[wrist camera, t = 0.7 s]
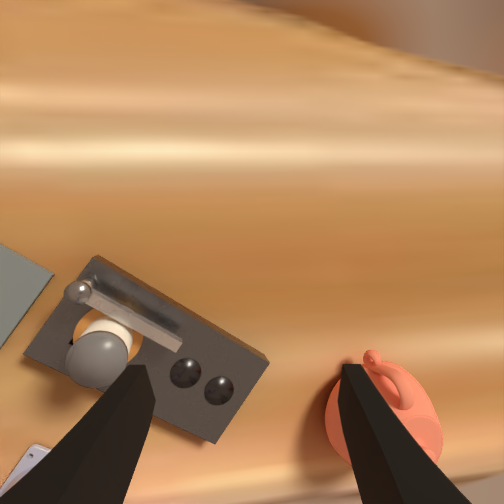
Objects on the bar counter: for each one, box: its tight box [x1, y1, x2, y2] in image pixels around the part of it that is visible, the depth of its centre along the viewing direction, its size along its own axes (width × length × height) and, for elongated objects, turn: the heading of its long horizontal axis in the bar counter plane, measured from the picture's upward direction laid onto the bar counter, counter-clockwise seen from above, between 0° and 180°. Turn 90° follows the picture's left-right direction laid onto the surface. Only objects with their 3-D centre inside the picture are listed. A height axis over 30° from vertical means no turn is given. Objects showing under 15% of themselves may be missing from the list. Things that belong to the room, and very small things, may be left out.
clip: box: [64, 278, 182, 353], centre depth 26 cm, size 2×10×3 cm, turn 54°
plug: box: [65, 306, 144, 388], centre depth 26 cm, size 6×6×8 cm
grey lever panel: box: [23, 255, 270, 444], centre depth 30 cm, size 10×20×2 cm, turn 54°
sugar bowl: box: [325, 350, 443, 466], centre depth 33 cm, size 12×14×10 cm
